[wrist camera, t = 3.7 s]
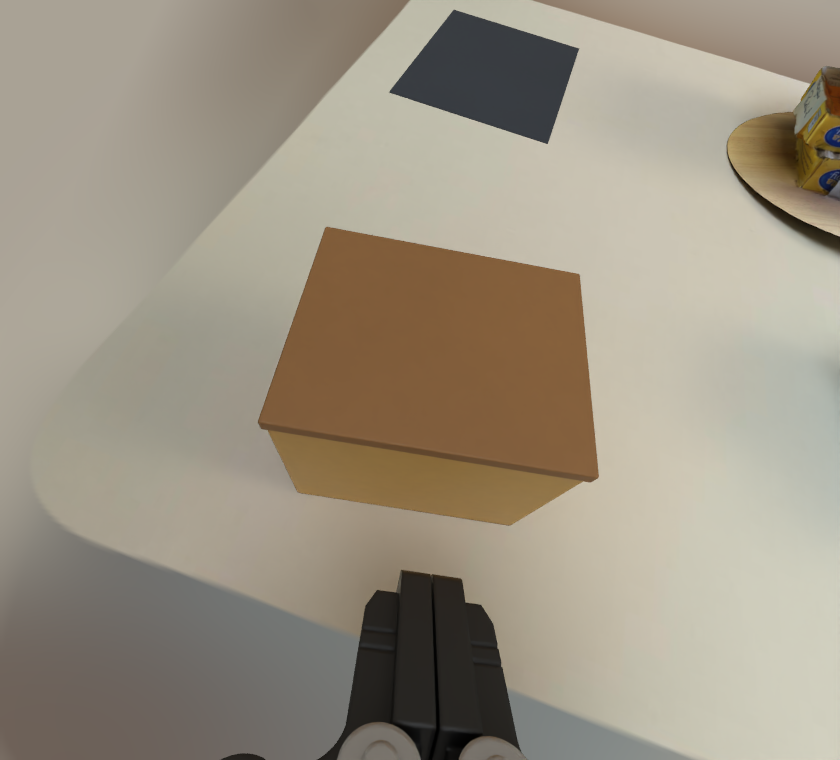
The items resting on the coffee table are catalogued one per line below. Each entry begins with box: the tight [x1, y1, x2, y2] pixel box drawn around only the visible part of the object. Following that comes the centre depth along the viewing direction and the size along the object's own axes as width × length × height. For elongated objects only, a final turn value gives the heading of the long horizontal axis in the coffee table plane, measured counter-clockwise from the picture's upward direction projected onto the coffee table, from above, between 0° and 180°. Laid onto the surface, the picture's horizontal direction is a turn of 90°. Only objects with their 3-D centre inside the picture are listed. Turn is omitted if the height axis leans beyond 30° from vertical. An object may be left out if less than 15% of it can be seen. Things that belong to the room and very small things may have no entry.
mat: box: [390, 10, 579, 144], centre depth 45 cm, size 16×22×1 cm
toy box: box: [258, 227, 599, 525], centre depth 20 cm, size 9×11×9 cm
